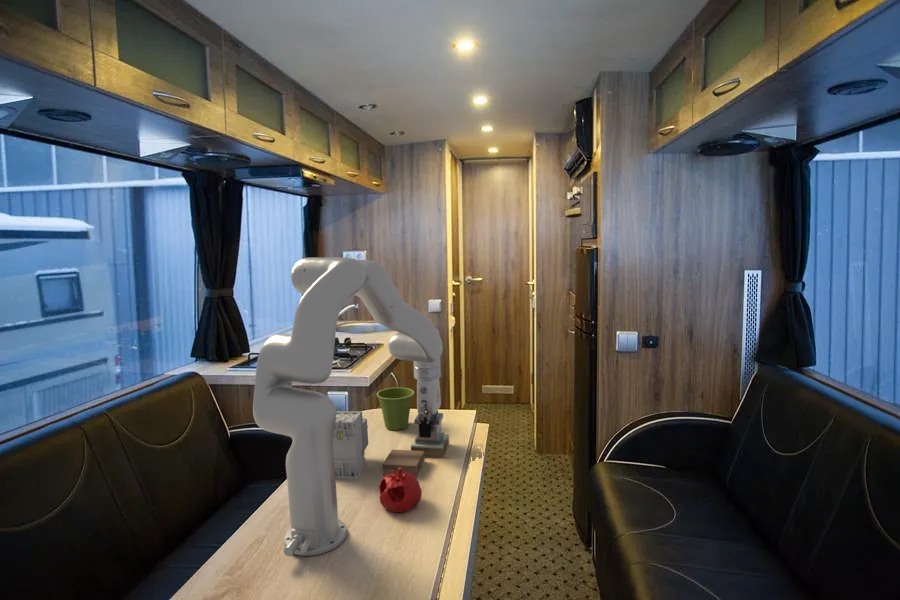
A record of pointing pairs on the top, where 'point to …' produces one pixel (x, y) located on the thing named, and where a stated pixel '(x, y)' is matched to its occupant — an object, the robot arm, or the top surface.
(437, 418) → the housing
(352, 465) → the circuit breaker
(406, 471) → the stand
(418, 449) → the stand
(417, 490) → the pomegranate
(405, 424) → the plant pot
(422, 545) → the top surface
